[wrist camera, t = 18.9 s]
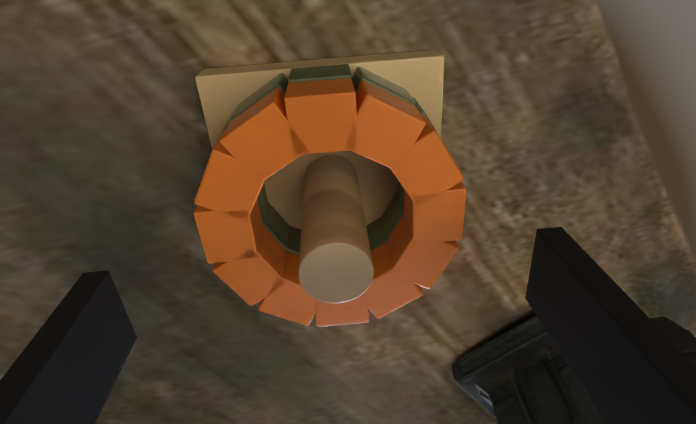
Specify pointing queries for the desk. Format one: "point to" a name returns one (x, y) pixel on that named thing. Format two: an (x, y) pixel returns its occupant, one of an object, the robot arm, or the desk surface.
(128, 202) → the desk surface
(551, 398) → the model
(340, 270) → the stacker
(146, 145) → the desk surface
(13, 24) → the desk surface
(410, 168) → the orange ring
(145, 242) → the desk surface
